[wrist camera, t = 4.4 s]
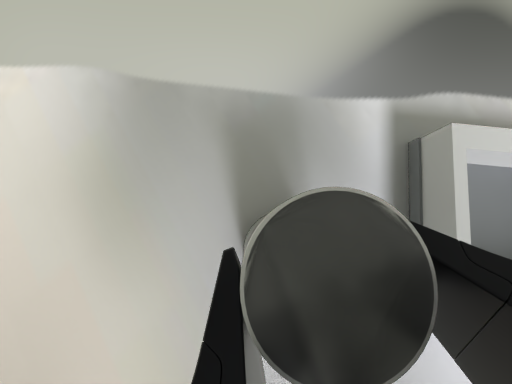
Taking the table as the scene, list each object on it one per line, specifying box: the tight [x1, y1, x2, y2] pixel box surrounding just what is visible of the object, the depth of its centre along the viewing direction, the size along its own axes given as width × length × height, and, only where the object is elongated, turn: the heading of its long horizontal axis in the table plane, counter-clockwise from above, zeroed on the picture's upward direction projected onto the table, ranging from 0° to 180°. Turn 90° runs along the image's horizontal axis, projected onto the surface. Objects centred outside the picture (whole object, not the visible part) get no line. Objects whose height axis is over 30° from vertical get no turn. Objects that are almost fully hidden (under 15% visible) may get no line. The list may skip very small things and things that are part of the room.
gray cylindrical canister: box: [240, 187, 438, 384], centre depth 11 cm, size 5×5×10 cm
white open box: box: [408, 123, 512, 259], centre depth 15 cm, size 11×10×4 cm
